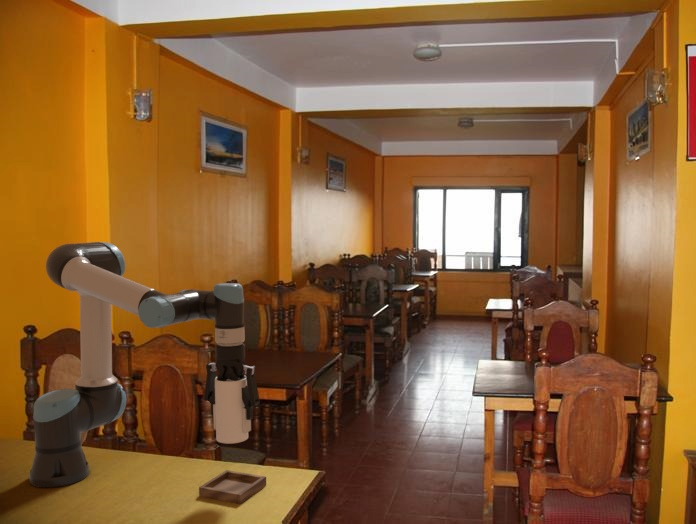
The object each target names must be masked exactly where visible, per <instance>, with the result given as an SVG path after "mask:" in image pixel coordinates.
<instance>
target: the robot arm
mask: <svg viewBox="0 0 696 524" xmlns="http://www.w3.org/2000/svg"><path fill="white" fill-rule="evenodd" d="M45 271H46V274H47V276H48V278H49V279H50V280H51V281H52V282H53V283H54V284H55V285H57V286H58V287H61V288H63V289H66V290H67V291H71V292H76V293H77V294H78V295H79V320H80V321H79V326H80V327H79V328H80V329H79V331H80V333H79V334H80V337H79V338H80V376H79V378H78V379H76V380H75V383H74V387H75V389H74V388H61V389H59V390H58V389H57V390H56V389H55V390H53V391H48V392H46V393H44V394H43V395H41V396H39V397H38V398H37V399H36V400H35V402H34V404H33V415H32V419H33V422H34V423H33V424H34V428H33V429H34V445H35V446H34V447H35V448H34V449H35V450H34V451H35V453H34V458H33V461H32V465H31V469H30V471H29V473H28V474H29V476H28V479H29V484H30V483H31V484H32V485H31V484H30V485H31V486H33V485H35V486H34V487H36V486H39V487H38V488H44V487H49V488H57V487H64V486H69V485H72V484H75V483H78V482H81V481H82V480H84V479H85V478H87V477H88V476H89V474H90V467H89V462H88V461H87V459H86V456H85V452H84V450H83V448H82V433H85V432H87V431H91V430H93V429H96V428H99V427H102V426H106V425H108V424H110V423H112V422H114V421H116V420H117V419H119V418H121V416H122V415H123V413H124V412H125V409H126V405H127V396H126V391H124V387H123V386H122V385H121V384H120V383H118V380H119V379H118V378H117V377H116V376H115V375H114V374H113V352H112V351H113V349H112V347H113V343H112V341H113V340H112V339H113V336H112V335H113V332H112V329H113V328H112V326H113V325H112V324H113V323H112V314H113V313H112V306H115V307H117V308H118V309H119V308H120V309H122V310H124V311H126V312H129V313H132V314H133V315H136V316H138V318H139V320H140V321H141V322H142V323H143V325H144V326H145V327H147V328H150V329H154V328H156V329H157V328H164V327H165V328H166V327H167V326H172V325H175V324H176V325H177V324H180V323H185V322H190V321H194V320H214V335H215V336H214V338H215V339H214V340H215V341H214V342H215V343H216V345H215V347H214V348H215V359H216V361H215V362H210V363H208V364H206V366H205V367H206V368H205V369H206V373H207V374H206V379H205V386H204V387H205V388H204V396H203V400H204V402H209V403H210V414H211V416H213V430H216V410H215V378H216V377H217V380H218V381H226V380H227V379H230V380H233V381H238V380H242V379H245V377H244V375H245V376H246V380H247V385H246V387H245V388H242V400H243V403H244V405H245V407H243V408H242V419H243V433H247V432H248V433H249V432H251V431H252V420H253V418H254V407H255V406H258V405H259V404H260V403H261V400H260V396H259V390H258V385H257V384H258V383H257V380H256V366H255V365H253V366H249V365H247V364H246V362H245V358H246V344H245V343H244V342H245V340H246V339H245V337H246V335H245V332H246V330H245V319H244V318H245V297H244V287H243V286H242V284H240V283H238V282H237V283H236V282H235V283H234V282H230V283H229V282H228V283H227V282H223V283H217V284H215V285H214V286H213V290H201V289H193V288H192V289H191V288H190V289H183V290H180V291H178V292H177V293H169V294H168V293H167V294H166V293H164V292H161V291H159V290H157V289H154V288H151V287H149V286H147V285H143V284H141V283H138V282H136V281H134V280H131V279H129V278H126V277H124V276H123V275H124V274H125V271H126V261H125V257H124V255H123V252H122V251H121V250H120V249H119V248H118V247H117V246H116V245H114V244H113V243H110V242H103V241H94V242H79V243H65V244H61V245H59V246H57V247H56V248H54V249H53V250H52V251H51V252H50V253H49V255H48V257H47V259H46V262H45ZM217 371H218V372H219V373H218V374H217ZM238 378H240V379H238Z"/></svg>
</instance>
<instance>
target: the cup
mask: <svg viewBox="0 0 696 524" xmlns="http://www.w3.org/2000/svg"><path fill="white" fill-rule="evenodd" d="M217 377H218V376H216V378H215V386H214V388H215V410H216V429H215V436H216V437H215V438H216V442H218V443H221V444H228V445H229V444H238V443H242V442H245V441H247V440H248V439H249V432H247V433H243V419H242V408H243V407H245V405H244V403H243V400H242V388H245V387H246V385H247V380H246V374H244V377H245V379H242V380H238V381H233V380H230V379H227V380H226V381H218V380H217ZM238 379H240V378H238Z"/></svg>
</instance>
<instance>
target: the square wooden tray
mask: <svg viewBox="0 0 696 524" xmlns="http://www.w3.org/2000/svg"><path fill="white" fill-rule="evenodd" d="M266 486H267V476H264V475H258V474H252V473H248V472H247V473H245V472H240V471H234V470H228V469H226V470H224V471H222V472H221V473H220V474H218V475H217V476H215V477H213V478H212V479H210V480H208V481H206V482H205V483H204V484H202V485H200V486H199V487H198V496H199V497H201V498H207V499H214V500H218V501H223V502H229V503H234V504H239V505H241V504H243V503H244V502H245V501H247V500H248V499H249V498H251V497H253V495H256V494H257V493H258V492H259V491H260V490H262V489H263V488H264V487H266Z"/></svg>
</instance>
